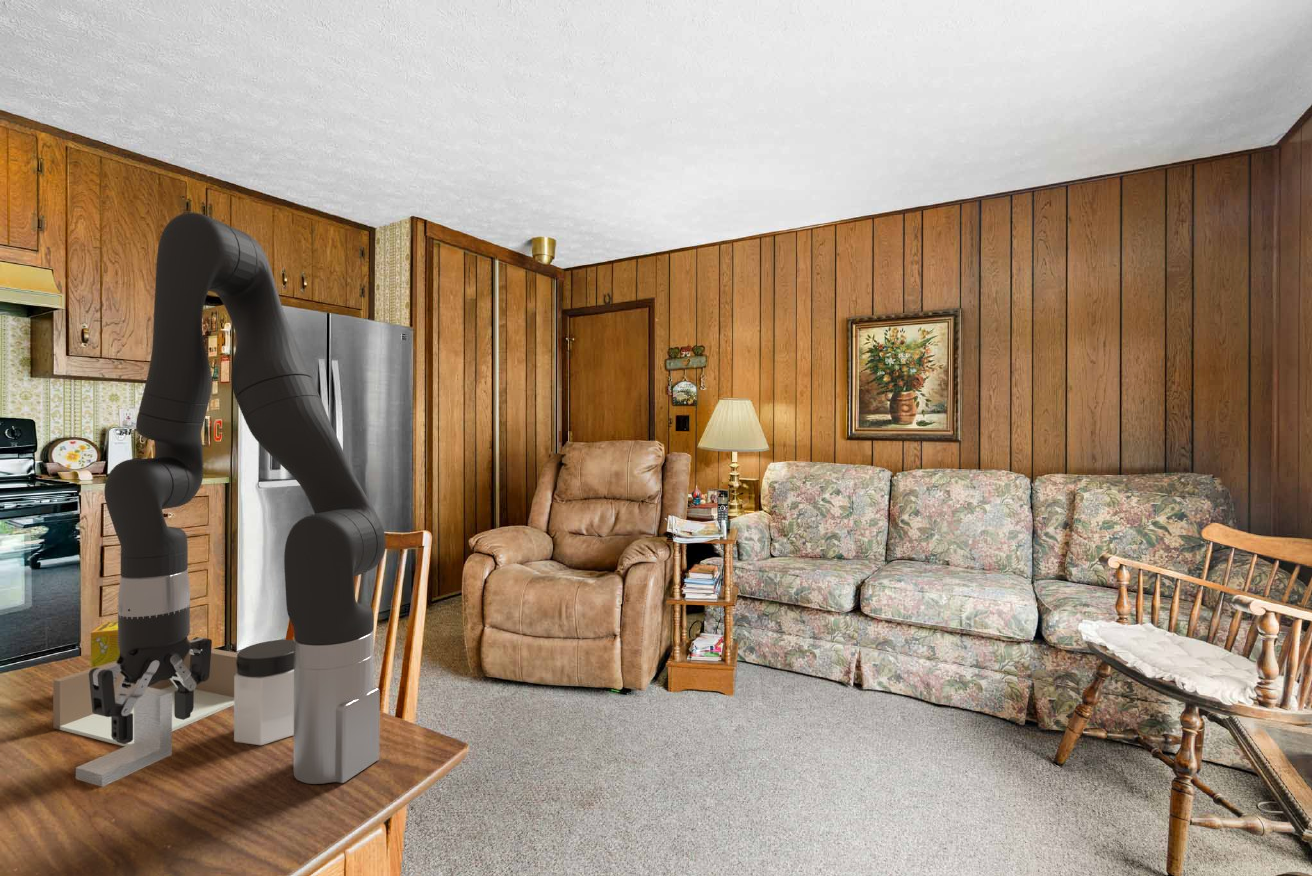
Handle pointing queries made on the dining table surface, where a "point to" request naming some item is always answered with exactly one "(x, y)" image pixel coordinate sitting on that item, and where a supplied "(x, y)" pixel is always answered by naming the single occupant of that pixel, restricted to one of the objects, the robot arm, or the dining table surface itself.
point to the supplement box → (104, 644)
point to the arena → (79, 719)
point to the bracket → (136, 741)
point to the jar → (264, 693)
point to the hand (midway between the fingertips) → (154, 729)
